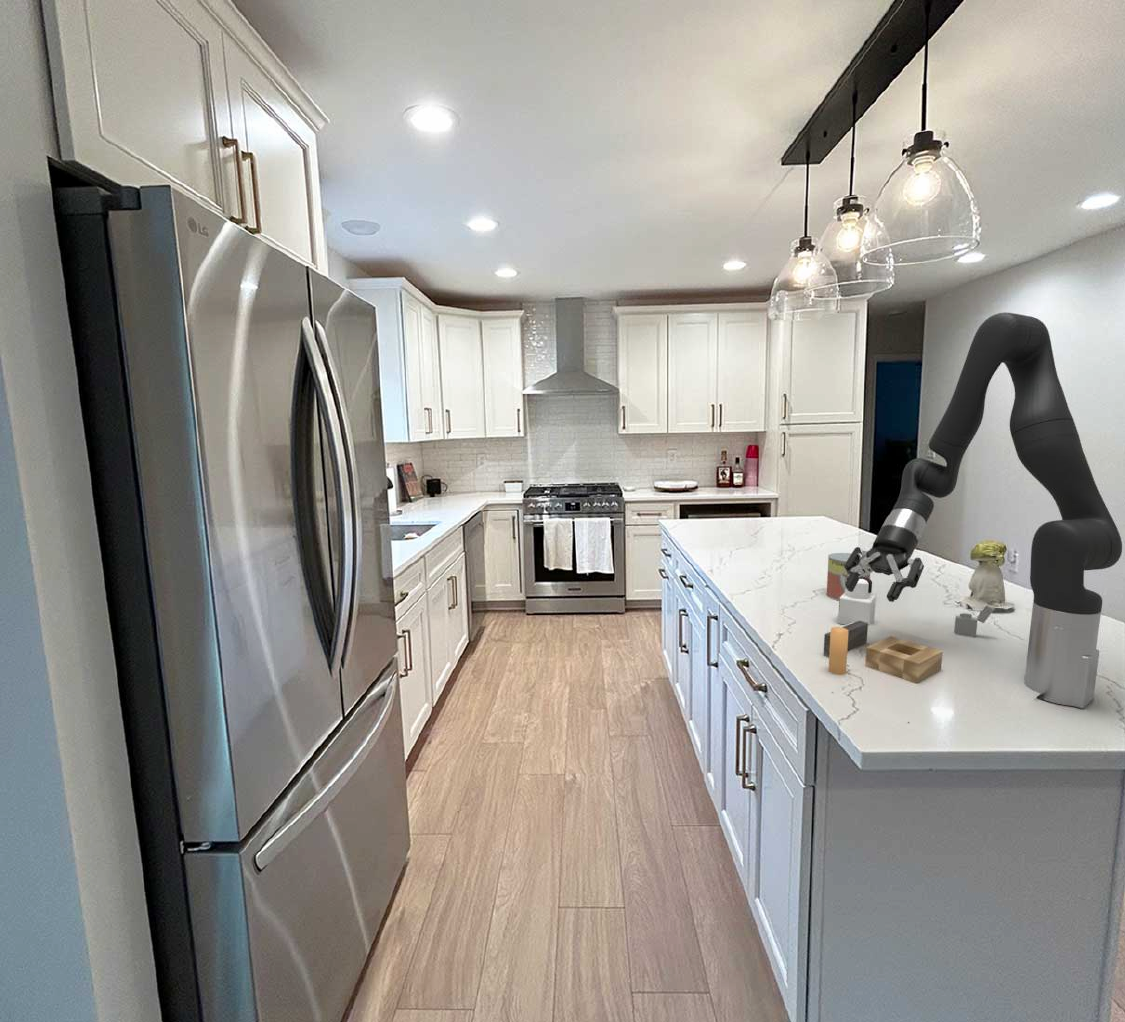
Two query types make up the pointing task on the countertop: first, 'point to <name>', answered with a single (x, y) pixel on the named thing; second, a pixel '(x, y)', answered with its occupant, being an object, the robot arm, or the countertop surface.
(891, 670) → the socket block
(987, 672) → the countertop surface
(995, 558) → the mushroom
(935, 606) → the countertop surface
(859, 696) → the countertop surface
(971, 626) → the lighter
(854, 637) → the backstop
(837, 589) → the canned food
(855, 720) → the countertop surface
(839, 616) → the medicine bottle
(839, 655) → the dowel
